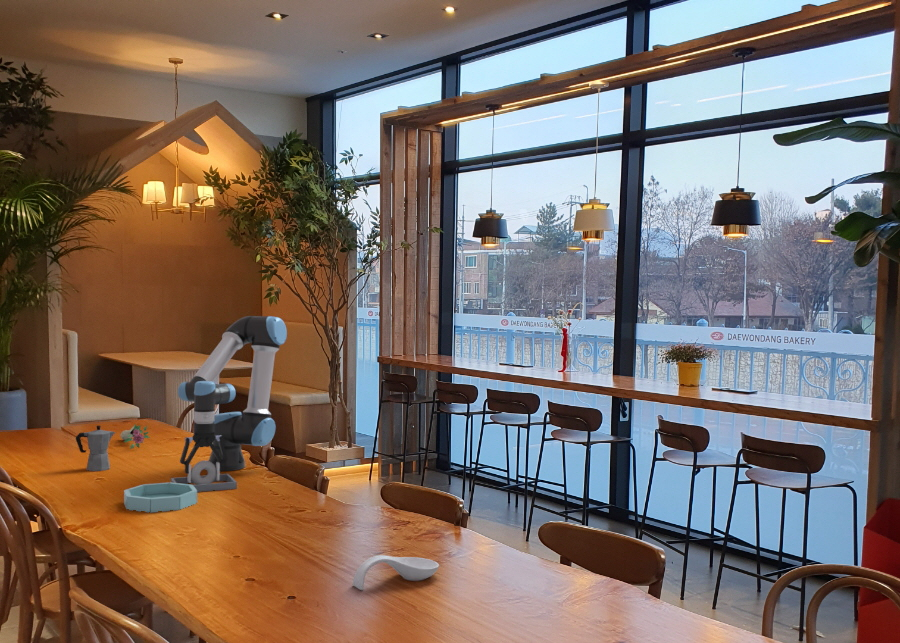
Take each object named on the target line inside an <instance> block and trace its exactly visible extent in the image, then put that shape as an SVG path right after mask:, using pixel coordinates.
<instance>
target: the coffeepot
mask: <svg viewBox="0 0 900 643" xmlns="http://www.w3.org/2000/svg"><path fill="white" fill-rule="evenodd" d="M115 434H116V432H115V431H111V430H104V429H101V425H96V430H92V431H87V432H79V433H78V434H77V435H76V437H75V440H76V443H77V446H78V450H79V452H80V453H82V454H83V453H87V449H84V448H83V447H84V446H83V444H82V439H81V438H86V439H87V440H86V441H87V446H88V450H89V454H88V459H87V465H86V471H88V470H89V472H102V471H103V470H104V471H107V470H110V467H111V464H110V459H109V453H108V448H109V444H110V441H111V439H112V437H113V436H114V435H115Z"/></svg>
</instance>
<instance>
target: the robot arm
mask: <svg viewBox="0 0 900 643" xmlns="http://www.w3.org/2000/svg"><path fill="white" fill-rule="evenodd" d="M287 335H288V331H287V326H286V324H285V322H284V320H283V319H282V318H280V317H277V316H272V315H267V316H266V315H257V316H256V315H247V316H243V317H241V318H239V319H237V320H236V321H235V322H233V323H232V324H231V325H229V326H228V328H227V329H226V330H225V331H224V332H223V333H222V336H221V338H222V339H221V340H220V342H218V344H217V346H216V347H215V348H214V350H212V352H211V353H210V354H209V355H208V357H207V358H206V360H204V363H203V364H202V365H201V366H200V367H199V369H198V370H197V372H196V373H195V374H194V375H193V377H192V378H191V379H190V381H183V382H181V383H180V384H179V386H178V388H177V396H178V397H179V399H180V400H181V401H185V402H190V403H191V402H192V403H194V405H193V407H194V411H193V414H194V415H193V422H194V423H193V435H192V436H190V437H188V436H185V438H184V445H183V449H182V452H181V455H180V459H179V463H180V464H182V465H184V473H185V474H186V475H187V477H188V482H189V483H191V470H192V465H191V464H190V463H191V462H192V460H193V458H194V457H195V454H196V453H197V451H198V450H199V448H205V447H206V448H210V450H211V453H210V455H209V459H208V461H210V462H212V463H213V464H214V465H215V467H216V472H217V473H216V480H217V482H220V481H219V480H220V474H221V473H220V472H224V471H225V472H227V471H237V470H241V469H244V468H246V461H245V457H244V454H243V452H242V445H247V446H253V447H260V446H261V447H262V446H267V445H268V444H270V443H271V441H272V440H273V439H274V436H275V433H276V428H277V427H276V422H275V420H274V419H273V418H272V413H271V412H270V411H269V405H270V396H271V389H272V388H271V387H272V381H273V373H274V364H275V356H276V353H277V352H278V351H280V347H281V345H284V344H285V343H286V341H287ZM246 344H251V348H252V350H253V351H254V352H253V360H252V368H251V377H250V382H249V391H248V401H247V405H246V406H247V407H246V408H245V409H244V410H243V411H242V412H241V411H231V412H230V411H229V412H224V413H223V412H221V413H217V414H215V413H216V412H215V410H216V405H221V404H228V403H230V402H233V400H235V398H236V396H237V394H236V389H235V386H234V385H232V384H231V383H215V381H216V379H217V378H218V376H219V375H220V374H221V373H222V371H223V370H224V368H225V367H226V365H227V364H229V361H230V360H231V359H232V357H233V356H234V355H235V353H236V352H237V351H239V350H241V349H242V348H243V347H244V346H245V345H246ZM192 441H193V442H194V444H193V447H192V449H191V451H190V452H189V454H188V451H189V448H190V444H191V443H192ZM187 455H188V456H187ZM191 484H192V483H191Z"/></svg>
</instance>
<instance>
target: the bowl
mask: <svg viewBox="0 0 900 643" xmlns="http://www.w3.org/2000/svg"><path fill="white" fill-rule="evenodd" d="M193 485H194V484H181V483H172V482H171V481H170V482H159V483H158V482H157V483H145V484H140V485H136V486H134V487H130V488H127V489H124V490H123V504H124V507H125V509H126V510H127V509H129V510H128V511H133V510H136V512H141V511H145V512H144V513H149V512H150V513H159V512H158V511H162V512H171V511H170V510H173V511H181V510H184V509H186V508H188V506H189V507H191V505H192V506H194V505H197V504H198V492H197V490H196V488H195V487H194V486H193ZM196 503H197V504H196ZM193 504H194V505H193ZM185 507H186V508H185ZM183 508H184V509H183ZM180 509H181V510H180Z"/></svg>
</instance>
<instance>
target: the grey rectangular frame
mask: <svg viewBox="0 0 900 643" xmlns="http://www.w3.org/2000/svg"><path fill="white" fill-rule="evenodd" d="M206 476H207V474H206V475H200V477H201V478H204V477H206ZM170 482H172V483H181V484H188V483H189V482H188V476H183V477H182V476H181V477H171V478H170ZM191 484H192V485H193V486H194V487H195V488H196V490H197V493H200V492H201V491H203V492H212V491H213V490H215V491H224V490H226V491H227V490H237V489H238V487H237V486H238V482H237V481H236V479H235V478H233V477H232V476H231V475H230V473H223V474H222V473H220V480H219V481H217V480H216V477H215V479H214V481H213V482H212V483H211V484H201V485H195V484H194V483H193V481H192V479H191ZM213 492H214V491H213ZM201 493H202V492H201Z"/></svg>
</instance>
